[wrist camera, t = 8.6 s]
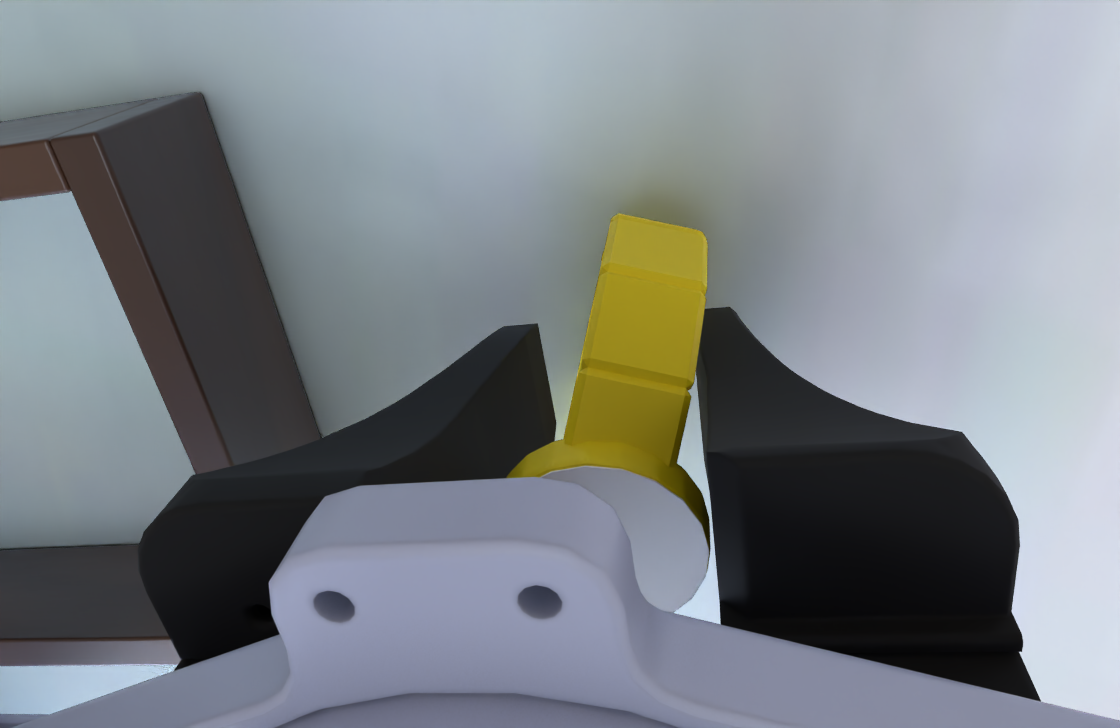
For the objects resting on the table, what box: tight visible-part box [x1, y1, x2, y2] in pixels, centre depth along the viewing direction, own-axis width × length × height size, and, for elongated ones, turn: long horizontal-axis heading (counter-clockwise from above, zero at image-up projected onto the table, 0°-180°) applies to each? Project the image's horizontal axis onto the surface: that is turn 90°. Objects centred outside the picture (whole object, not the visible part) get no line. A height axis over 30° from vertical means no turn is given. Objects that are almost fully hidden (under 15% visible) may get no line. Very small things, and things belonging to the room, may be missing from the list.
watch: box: [507, 213, 710, 613], centre depth 13 cm, size 6×3×6 cm, turn 170°
